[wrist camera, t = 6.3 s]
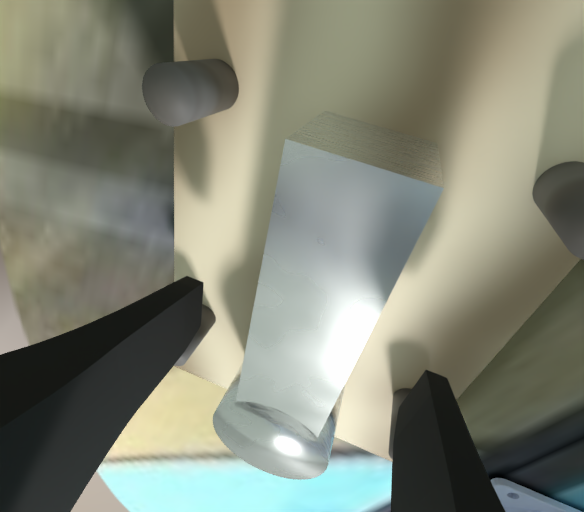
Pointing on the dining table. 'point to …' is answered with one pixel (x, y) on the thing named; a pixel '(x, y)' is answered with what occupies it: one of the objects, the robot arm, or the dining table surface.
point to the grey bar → (324, 284)
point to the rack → (395, 116)
